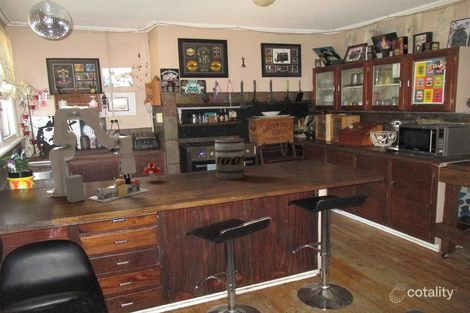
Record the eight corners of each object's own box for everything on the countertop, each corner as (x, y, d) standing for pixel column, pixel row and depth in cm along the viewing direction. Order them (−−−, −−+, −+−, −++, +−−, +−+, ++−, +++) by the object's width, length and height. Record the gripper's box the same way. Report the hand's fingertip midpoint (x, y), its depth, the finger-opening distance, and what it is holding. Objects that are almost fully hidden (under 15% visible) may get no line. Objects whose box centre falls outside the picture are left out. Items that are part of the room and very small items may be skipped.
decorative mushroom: (159, 183, 268) (158, 163, 266) (141, 183, 269) (139, 163, 267) (163, 179, 282) (162, 160, 280) (146, 179, 283) (144, 161, 281)
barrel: (223, 181, 269) (222, 141, 265) (211, 176, 289) (210, 139, 285) (249, 177, 280) (249, 139, 275) (236, 173, 299) (235, 137, 295)
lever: (114, 184, 232) (113, 179, 232) (118, 182, 237) (117, 178, 236) (137, 185, 228) (137, 180, 227) (141, 183, 232) (140, 178, 231)
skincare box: (79, 198, 228) (77, 174, 226) (85, 200, 224) (83, 175, 221) (66, 201, 222) (64, 176, 219) (72, 203, 217) (69, 177, 215)
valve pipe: (103, 202, 217) (103, 191, 216) (89, 199, 226) (88, 188, 225) (148, 191, 244) (147, 180, 243) (133, 188, 253) (133, 178, 252)
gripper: (119, 157, 218) (121, 187, 221) (139, 154, 230) (141, 182, 232) (112, 156, 223) (114, 185, 225) (132, 153, 234) (134, 181, 237)
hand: (128, 184), depth 229 cm, fingers closed
